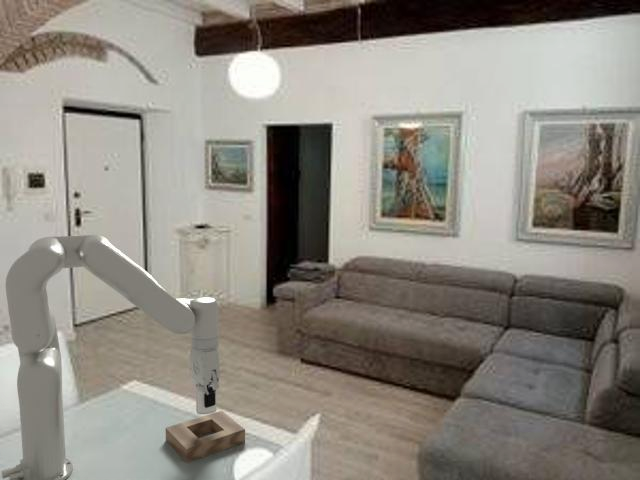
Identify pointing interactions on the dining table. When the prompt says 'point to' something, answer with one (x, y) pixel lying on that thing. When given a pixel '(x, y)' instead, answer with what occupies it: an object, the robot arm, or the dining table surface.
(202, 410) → the eye dropper bottle
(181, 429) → the socket block
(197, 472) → the dining table surface
